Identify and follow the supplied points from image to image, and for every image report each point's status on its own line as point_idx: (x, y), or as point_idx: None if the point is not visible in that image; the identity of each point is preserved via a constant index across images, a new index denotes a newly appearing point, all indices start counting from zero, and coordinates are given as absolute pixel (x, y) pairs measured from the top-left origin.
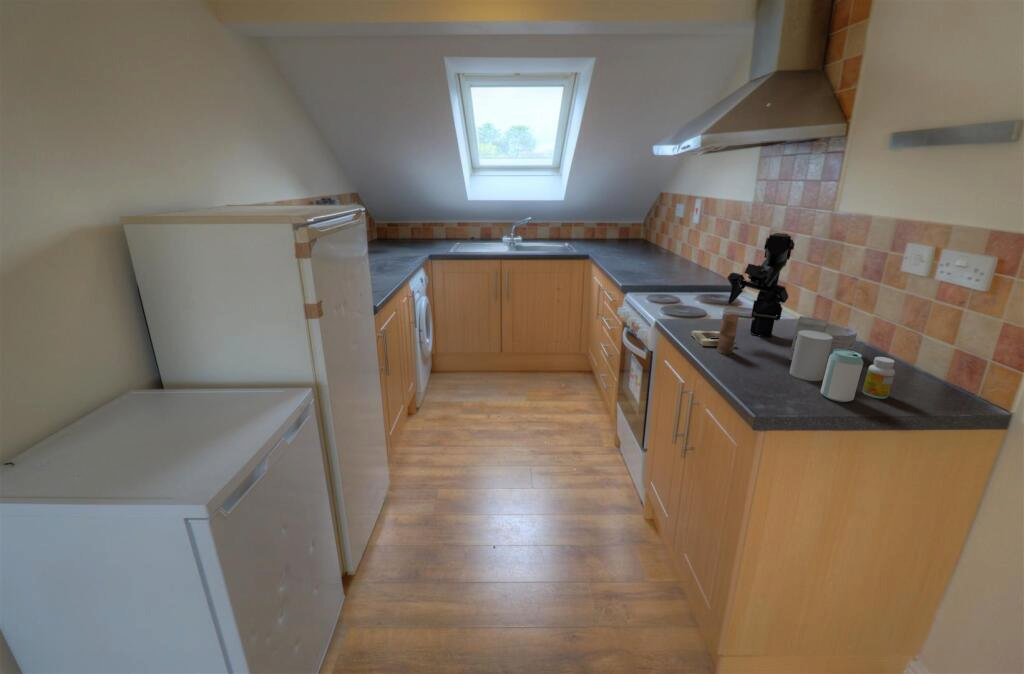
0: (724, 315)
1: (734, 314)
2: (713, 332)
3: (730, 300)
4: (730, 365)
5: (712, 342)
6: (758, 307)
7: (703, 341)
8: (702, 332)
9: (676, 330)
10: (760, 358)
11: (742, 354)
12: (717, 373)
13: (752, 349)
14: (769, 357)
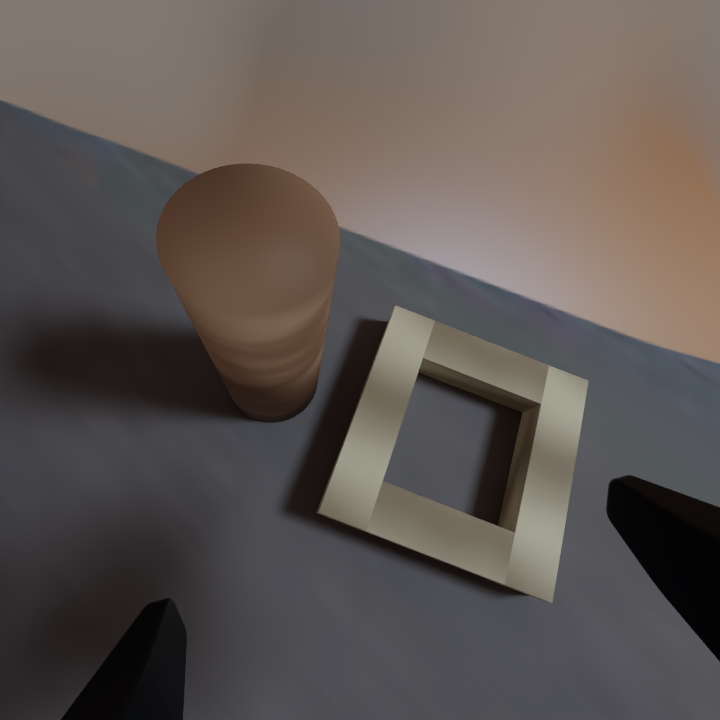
0: (261, 172)
1: (219, 256)
2: (534, 499)
3: (645, 499)
4: (93, 254)
5: (373, 362)
6: (93, 683)
7: (392, 313)
8: (543, 421)
9: (670, 382)
10: (84, 514)
11: (194, 453)
12: (49, 133)
13: (244, 610)
14: (65, 601)
